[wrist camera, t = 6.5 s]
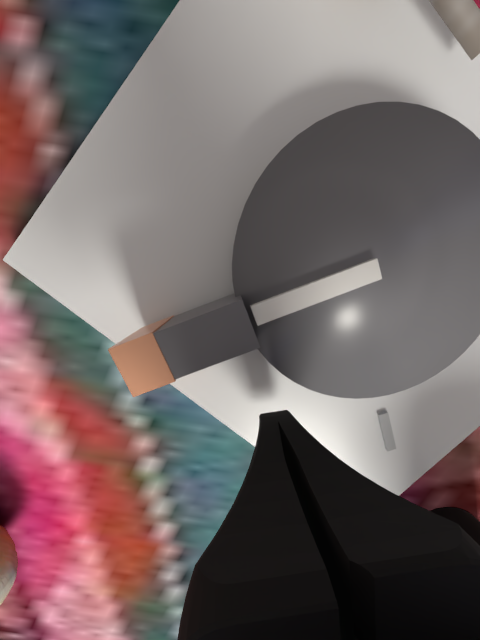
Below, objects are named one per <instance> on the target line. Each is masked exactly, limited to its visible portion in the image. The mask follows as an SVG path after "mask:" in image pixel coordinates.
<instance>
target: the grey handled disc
mask: <svg viewBox="0 0 480 640" xmlns="http://www.w3.org/2000/svg"><path fill="white" fill-rule="evenodd" d="M232 282H233V288H234V294H231V295H228V296H226V297H223V298H220V299H218V300H215V301H213V302H210V303H207V304H205V305H202V306H200V307H197V308H194V309H192V310H189V311H187V312H184V313H181V314H179V315H176V316H174V315H173V316H170V317H168V318H165V319H163V320H160V321H157V322H155V323H152V324H149V325H147V326H144V327H142V328H140V329H139V330H137V331H136V332H134V333H132V334H131V335H129V336H128V337H126V338H125V339H123V340H122V341H120V342H118V343H117V344H115V345H114V346H112V347H111V348H109V349H108V351H109V352H110V354H111V356H112V358H113V360H114V362H115V364H116V366H117V368H118V369H119V371H120V373H121V375H122V377H123V379H124V381H125V383H126V384H127V386H128V388H129V390H130V392H131V394H132V396H133V397H135V396H138V395H140V394H143V393H146V392H148V391H151V390H154V389H156V388H159V387H162V386H164V385H167V384H170V383H173V382H175V381H176V379H178V378H181V377H183V376H186V375H189V374H191V373H194V372H197V371H199V370H202V369H205V368H207V367H210V366H213V365H215V364H218V363H221V362H223V361H226V360H229V359H231V358H234V357H237V356H240V355H242V354H245V353H248V352H250V351H253V350H256V349H258V350H259V351H260V353H261V354H262V355H263V356H264V357H265V358H266V360H267V361H268V362H269V363H270V364H271V365H272V366H273V367H275V368H276V369H277V370H278V371H279V372H280V373H281V374H283V375H284V376H286V377H287V378H289V379H290V380H292V381H293V382H295V383H297V384H299V385H301V386H303V387H305V388H307V389H309V390H312V391H315V392H318V393H321V394H324V395H329V396H334V397H339V398H353V399H360V398H374V397H380V396H386V395H390V394H394V393H397V392H400V391H404V390H406V389H409V388H411V387H414V386H416V385H418V384H421V383H422V382H424V381H426V380H428V379H430V378H431V377H433V376H435V375H436V374H438V373H439V372H441V371H442V370H444V369H445V368H446V367H448V366H449V365H450V364H452V363H453V362H454V361H455V360H456V359H457V358H458V357H460V356H461V355H462V354H463V353H464V352H465V351H466V350H467V349H468V348H469V347H470V345H471V344H472V343H473V342H474V341H475V340H476V339H477V337H478V336H479V335H480V139H479V138H478V137H477V136H476V135H475V134H474V133H473V132H472V131H471V130H469V129H468V128H467V127H465V126H464V125H463V124H461V123H460V122H459V121H457V120H456V119H454V118H452V117H450V116H448V115H446V114H444V113H442V112H440V111H438V110H435V109H432V108H429V107H426V106H423V105H419V104H412V103H406V102H374V103H368V104H362V105H357V106H354V107H351V108H348V109H345V110H341V111H338V112H336V113H334V114H332V115H330V116H328V117H326V118H324V119H321V120H319V121H317V122H316V123H314V124H313V125H311V126H310V127H308V128H307V129H305V130H304V131H302V132H301V133H300V134H298V135H297V136H296V137H295V138H294V139H292V140H291V141H290V142H289V143H288V144H287V145H286V146H285V147H284V148H282V149H281V150H280V152H279V153H278V154H277V155H276V156H275V157H274V159H273V160H272V161H271V162H270V163H269V164H268V165H267V167H266V168H265V170H264V171H263V173H262V174H261V176H260V177H259V179H258V180H257V182H256V183H255V185H254V187H253V189H252V191H251V193H250V195H249V197H248V199H247V201H246V203H245V206H244V208H243V211H242V214H241V217H240V220H239V223H238V227H237V231H236V236H235V241H234V246H233V256H232Z"/></svg>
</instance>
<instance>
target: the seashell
mask: <svg viewBox="0 0 480 640" xmlns="http://www.w3.org/2000/svg"><path fill="white" fill-rule="evenodd" d="M17 566H18V559H17V552H16V550H15V544H14V542H13V540H12V538H11V537H10V535H9V534H8V532H7V530H6V529H5V528H4V527H2V526H1V525H0V605H1V604H2V602H3V601H4V599H5V598H6V596H7V595H8V593H9V591H10V589H11V588H12V586H13V583H14V581H15V578H16V574H17Z"/></svg>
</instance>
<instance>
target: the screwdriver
mask: <svg viewBox="0 0 480 640" xmlns="http://www.w3.org/2000/svg"><path fill="white" fill-rule="evenodd" d="M429 2H430V3H431V4H432V6H433V7H434V9H435V10H436V11H437V13H438V14H439V16H440V17H441V18H442V20H443V21H444V23H445V24H446V25H447V27H448V28H449V30H450V31H451V32H452V34H453V35H454V37H455V38H456V39H457V41H458V42H459V44H460V45H461V46H462V48H463V49H464V51H465V52H466V54H467V55H468V56H469V58H470V59H471V60H473V59H474V58H475V57H476V56H477V55H478V54H480V9H479V8H478V6H477V5H476V4H475V2H474V1H473V0H429Z"/></svg>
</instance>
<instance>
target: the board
mask: <svg viewBox="0 0 480 640" xmlns="http://www.w3.org/2000/svg"><path fill="white" fill-rule="evenodd" d="M374 102H406V103H412V104H419V105H423V106H426V107H429V108H432V109H435V110H438V111H440V112H442V113H444V114H446V115H448V116H450V117H452V118H454V119H456V120H457V121H459V122H460V123H461V124H463V125H464V126H465V127H467V128H468V129H469V130H471V131H472V132H473V133H474V134H475V135H476V136H477V137H478V138H479V139H480V54H478V55H477V56H476V57H475V58H474V59H473V60H471V59H470V58H469V56H468V55H467V54H466V52H465V51H464V49H463V48H462V46H461V45H460V44H459V42H458V41H457V39H456V38H455V37H454V35H453V34H452V32H451V31H450V30H449V28H448V27H447V25H446V24H445V23H444V21H443V20H442V18H441V17H440V16H439V14H438V13H437V11H436V10H435V9H434V7H433V6H432V4H431V3H430V2H429V0H180V1H179V2H178V4H177V5H176V7H175V8H174V10H173V11H172V13H171V14H170V15H169V17H168V18H167V20H166V21H165V23H164V24H163V26H162V27H161V29H160V30H159V32H158V33H157V35H156V36H155V37H154V39H153V40H152V42H151V43H150V45H149V46H148V48H147V49H146V51H145V52H144V54H143V55H142V57H141V58H140V59H139V61H138V62H137V64H136V65H135V67H134V68H133V70H132V71H131V73H130V74H129V76H128V77H127V79H126V80H125V81H124V83H123V84H122V86H121V87H120V89H119V90H118V92H117V93H116V95H115V96H114V98H113V99H112V101H111V102H110V103H109V105H108V106H107V108H106V109H105V111H104V112H103V114H102V115H101V117H100V118H99V120H98V121H97V123H96V124H95V125H94V127H93V128H92V130H91V131H90V133H89V134H88V136H87V137H86V139H85V140H84V142H83V143H82V145H81V146H80V147H79V149H78V150H77V152H76V153H75V155H74V156H73V158H72V159H71V161H70V162H69V164H68V165H67V167H66V168H65V169H64V171H63V172H62V174H61V175H60V177H59V178H58V180H57V181H56V183H55V184H54V186H53V187H52V189H51V190H50V191H49V193H48V194H47V196H46V197H45V199H44V200H43V202H42V203H41V205H40V206H39V208H38V209H37V211H36V212H35V213H34V215H33V216H32V218H31V219H30V221H29V222H28V224H27V225H26V227H25V228H24V230H23V231H22V233H21V234H20V235H19V237H18V238H17V240H16V241H15V243H14V244H13V246H12V247H11V249H10V250H9V252H8V253H7V255H6V256H5V257H4V259H3V261H5V262H6V263H8V264H9V265H10V266H12V267H13V268H14V269H16V270H17V271H18V272H20V273H21V274H22V275H24V276H25V277H26V278H28V279H29V280H31V281H32V282H33V283H35V284H36V285H37V286H39V287H40V288H41V289H43V290H44V291H45V292H47V293H48V294H49V295H51V296H52V297H53V298H55V299H56V300H58V301H59V302H60V303H62V304H63V305H64V306H66V307H67V308H68V309H70V310H71V311H72V312H74V313H75V314H76V315H78V316H79V317H80V318H82V319H83V320H85V321H86V322H87V323H89V324H90V325H91V326H93V327H94V328H95V329H97V330H98V331H99V332H101V333H102V334H103V335H105V336H106V337H107V338H109V339H110V340H112V341H113V342H114V343H116V344H117V343H118V342H120V341H122V340H123V339H125V338H126V337H128V336H129V335H131V334H132V333H134V332H136V331H137V330H139V329H140V328H142V327H144V326H147V325H149V324H152V323H155V322H157V321H160V320H163V319H165V318H168V317H170V316H173V315H174V316H176V315H179V314H181V313H184V312H187V311H189V310H192V309H194V308H197V307H200V306H202V305H205V304H207V303H210V302H213V301H215V300H218V299H220V298H223V297H226V296H228V295H231V294H234V288H233V282H232V256H233V246H234V241H235V236H236V231H237V227H238V223H239V220H240V217H241V214H242V211H243V208H244V206H245V203H246V201H247V199H248V197H249V195H250V193H251V191H252V189H253V187H254V185H255V183H256V182H257V180H258V179H259V177H260V176H261V174H262V173H263V171H264V170H265V168H266V167H267V165H268V164H269V163H270V162H271V161H272V160H273V159H274V157H275V156H276V155H277V154H278V153H279V152H280V150H281V149H282V148H284V147H285V146H286V145H287V144H288V143H289V142H290V141H291V140H292V139H294V138H295V137H296V136H297V135H298V134H300V133H301V132H302V131H304V130H305V129H307V128H308V127H310V126H311V125H313V124H314V123H316V122H317V121H319V120H321V119H324V118H326V117H328V116H330V115H332V114H334V113H336V112H338V111H341V110H345V109H348V108H351V107H354V106H357V105H362V104H368V103H374ZM170 384H171V385H172V386H174V387H175V388H176V389H178V390H179V391H180V392H182V393H183V394H184V395H186V396H187V397H188V398H190V399H191V400H193V401H194V402H195V403H197V404H198V405H199V406H201V407H202V408H203V409H205V410H206V411H207V412H209V413H210V414H211V415H213V416H214V417H215V418H217V419H218V420H220V421H221V422H222V423H224V424H225V425H226V426H228V427H229V428H230V429H232V430H233V431H234V432H236V433H237V434H238V435H240V436H241V437H242V438H244V439H245V440H247V441H248V442H249V443H251V444H252V445H253V446H256V441H257V437H258V431H259V416H260V414H262V413H269V412H276V411H282V410H288V411H289V412H290V413H291V414H292V415H293V416H294V417H295V419H296V420H297V421H298V422H299V423H300V424H301V425H302V426H303V427H304V428H305V429H306V430H307V431H308V432H309V433H310V434H311V435H312V436H313V437H314V438H315V439H316V440H317V441H319V442H320V443H321V444H322V445H323V446H324V447H325V448H327V449H328V450H329V451H330V452H331V453H333V454H334V455H335V456H336V457H338V458H339V459H340V460H342V461H343V462H344V463H346V464H347V465H348V466H350V467H351V468H353V469H354V470H356V471H357V472H359V473H360V474H362V475H363V476H365V477H367V478H368V479H370V480H372V481H373V482H375V483H376V484H378V485H380V486H381V487H383V488H385V489H387V490H389V491H390V492H392V493H394V494H396V495H398V496H399V495H400V494H402V493H403V492H404V491H405V490H406V489H407V488H409V487H410V486H411V485H412V484H413V483H414V482H415V481H417V480H418V479H419V478H420V477H421V476H422V475H424V474H425V473H426V472H427V471H428V470H429V469H431V468H432V467H433V466H434V465H435V464H436V463H437V462H439V461H440V460H441V459H442V458H443V457H444V456H446V455H447V454H448V453H449V452H450V451H451V450H452V449H454V448H455V447H456V446H457V445H458V444H459V443H461V442H462V441H463V440H464V439H465V438H466V437H468V436H469V435H470V434H471V433H472V432H473V431H474V430H476V429H477V428H478V427H479V426H480V335H479V336H478V337H477V339H476V340H475V341H474V342H473V343H472V344H471V345H470V347H469V348H468V349H467V350H466V351H465V352H464V353H463V354H462V355H461V356H460V357H458V358H457V359H456V360H455V361H454V362H453V363H452V364H450V365H449V366H448V367H446V368H445V369H444V370H442V371H441V372H439V373H438V374H436V375H435V376H433V377H431V378H430V379H428V380H426V381H424V382H422V383H421V384H418V385H416V386H414V387H411V388H409V389H406V390H404V391H400V392H397V393H394V394H390V395H386V396H380V397H374V398H360V399H353V398H339V397H334V396H329V395H324V394H321V393H318V392H315V391H312V390H309V389H307V388H305V387H303V386H301V385H299V384H297V383H295V382H293V381H292V380H290V379H289V378H287V377H286V376H284V375H283V374H281V373H280V372H279V371H278V370H277V369H276V368H275V367H273V366H272V365H271V364H270V363H269V362H268V361H267V360H266V358H265V357H264V356H263V355H262V354H261V353H260V351H259V350H258V349H256V350H253V351H250V352H248V353H245V354H242V355H240V356H237V357H234V358H231V359H229V360H226V361H223V362H221V363H218V364H215V365H213V366H210V367H207V368H205V369H202V370H199V371H197V372H194V373H191V374H189V375H186V376H183V377H181V378H178V379H176V381H175V382H173V383H170Z"/></svg>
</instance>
